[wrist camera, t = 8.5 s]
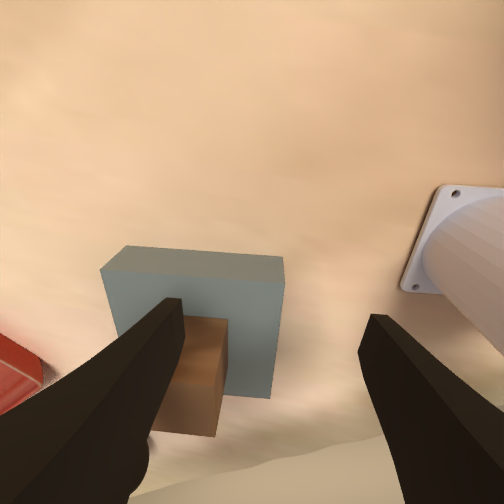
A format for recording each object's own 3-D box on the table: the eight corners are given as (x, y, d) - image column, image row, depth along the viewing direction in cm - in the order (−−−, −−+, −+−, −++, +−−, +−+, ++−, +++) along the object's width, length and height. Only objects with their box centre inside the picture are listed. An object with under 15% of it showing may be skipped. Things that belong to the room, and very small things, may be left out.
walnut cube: (228, 319, 18) (213, 386, 13) (228, 367, 20) (214, 437, 16) (157, 312, 18) (120, 376, 14) (165, 360, 20) (136, 428, 16)
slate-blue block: (282, 253, 20) (285, 283, 16) (269, 359, 25) (269, 398, 22) (129, 242, 20) (99, 269, 17) (151, 349, 26) (132, 386, 22)
